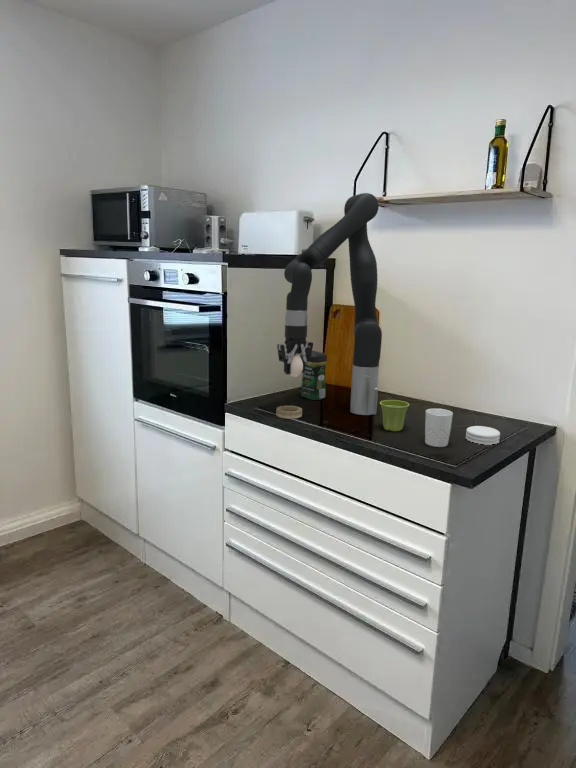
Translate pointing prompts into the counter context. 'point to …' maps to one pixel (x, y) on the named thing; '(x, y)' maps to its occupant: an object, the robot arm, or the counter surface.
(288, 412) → the egg holder
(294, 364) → the egg
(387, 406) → the plant pot
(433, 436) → the white cup
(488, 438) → the white jar lid
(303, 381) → the coffee jar
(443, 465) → the counter surface
